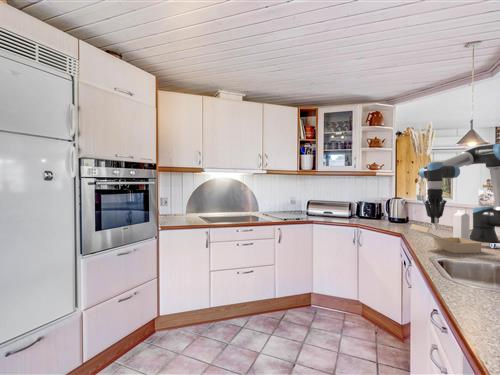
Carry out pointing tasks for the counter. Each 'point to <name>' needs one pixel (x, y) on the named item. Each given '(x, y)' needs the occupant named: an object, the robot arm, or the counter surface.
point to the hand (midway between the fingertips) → (434, 228)
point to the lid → (426, 230)
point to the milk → (461, 224)
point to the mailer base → (458, 245)
